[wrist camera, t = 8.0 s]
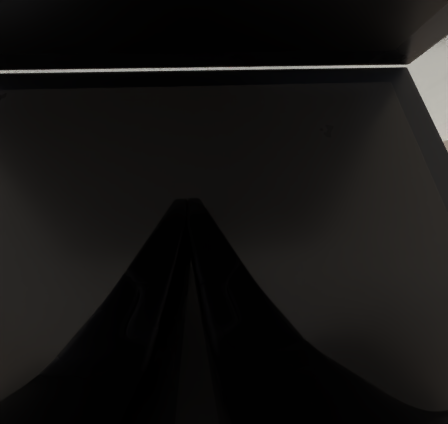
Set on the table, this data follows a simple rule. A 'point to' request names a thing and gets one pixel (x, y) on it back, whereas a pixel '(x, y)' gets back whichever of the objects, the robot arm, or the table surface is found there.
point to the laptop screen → (231, 211)
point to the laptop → (216, 33)
